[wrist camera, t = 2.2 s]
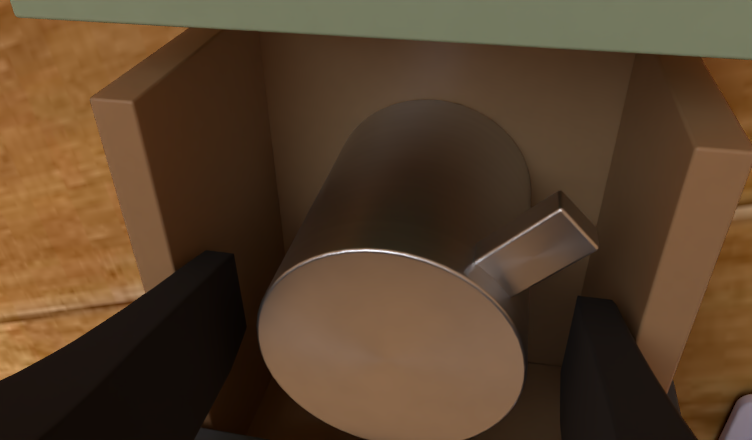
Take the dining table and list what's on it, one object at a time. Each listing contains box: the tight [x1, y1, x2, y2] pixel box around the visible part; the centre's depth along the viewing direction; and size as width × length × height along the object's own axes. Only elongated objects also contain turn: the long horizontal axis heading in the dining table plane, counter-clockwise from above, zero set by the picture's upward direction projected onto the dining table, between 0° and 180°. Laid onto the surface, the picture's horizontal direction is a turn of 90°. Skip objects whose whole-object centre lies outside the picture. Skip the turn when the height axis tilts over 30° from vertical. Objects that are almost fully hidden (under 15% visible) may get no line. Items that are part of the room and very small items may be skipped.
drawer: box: [10, 0, 752, 440], centre depth 13 cm, size 18×11×7 cm, turn 178°
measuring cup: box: [256, 100, 599, 440], centre depth 13 cm, size 7×5×6 cm
